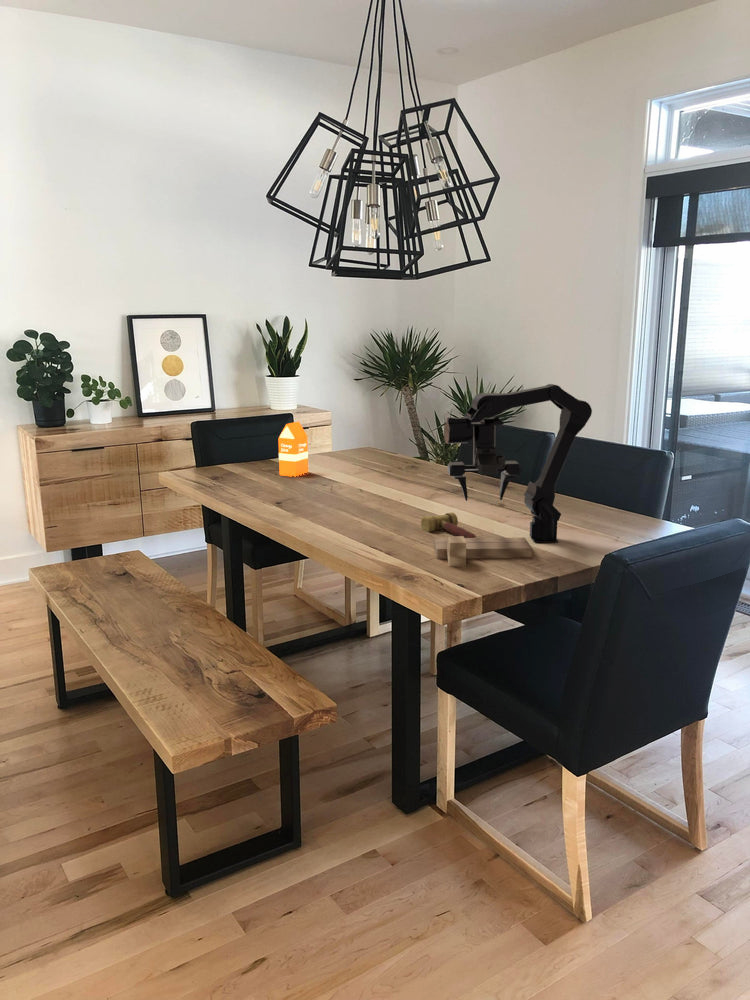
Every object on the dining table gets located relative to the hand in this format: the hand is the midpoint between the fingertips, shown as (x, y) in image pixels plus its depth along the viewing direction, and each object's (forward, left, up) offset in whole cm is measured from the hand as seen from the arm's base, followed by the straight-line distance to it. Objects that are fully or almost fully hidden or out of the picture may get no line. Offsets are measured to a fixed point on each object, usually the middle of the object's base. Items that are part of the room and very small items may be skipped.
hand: (483, 500), depth 216 cm
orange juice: (+60, -98, -12) cm, 116 cm away
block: (+9, +14, -12) cm, 21 cm away
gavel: (+6, -8, -13) cm, 16 cm away
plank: (+1, +9, -12) cm, 15 cm away
